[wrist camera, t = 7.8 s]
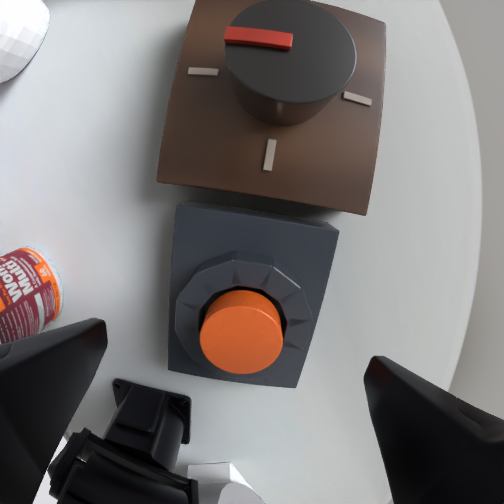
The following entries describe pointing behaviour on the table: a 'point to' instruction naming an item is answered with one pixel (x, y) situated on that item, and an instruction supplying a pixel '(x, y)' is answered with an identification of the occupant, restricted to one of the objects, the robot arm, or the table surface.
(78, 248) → the table surface
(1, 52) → the bottle
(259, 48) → the knob
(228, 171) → the panel
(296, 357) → the button box
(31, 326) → the pill bottle
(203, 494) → the alarm clock
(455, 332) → the table surface
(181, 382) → the table surface
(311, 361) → the table surface
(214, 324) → the button
